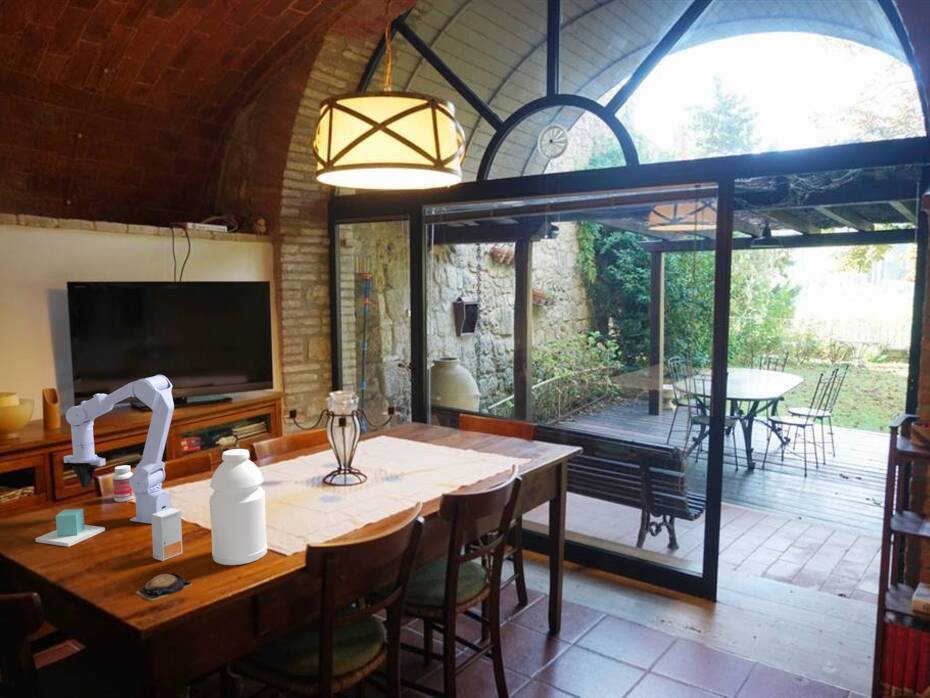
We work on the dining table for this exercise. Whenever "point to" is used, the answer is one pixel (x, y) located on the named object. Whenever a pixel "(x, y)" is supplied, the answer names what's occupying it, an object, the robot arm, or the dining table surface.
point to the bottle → (237, 510)
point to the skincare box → (166, 534)
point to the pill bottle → (122, 484)
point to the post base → (70, 540)
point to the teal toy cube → (70, 522)
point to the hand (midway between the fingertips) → (86, 486)
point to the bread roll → (162, 586)
